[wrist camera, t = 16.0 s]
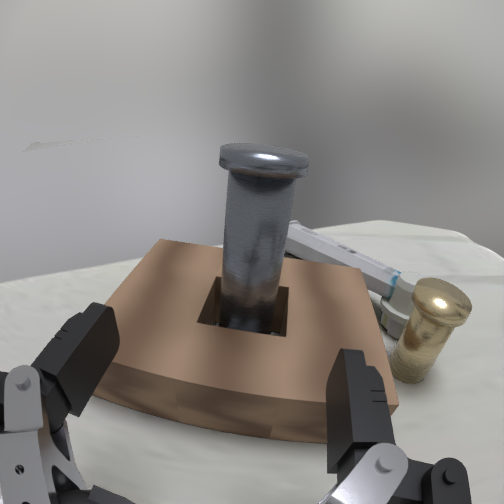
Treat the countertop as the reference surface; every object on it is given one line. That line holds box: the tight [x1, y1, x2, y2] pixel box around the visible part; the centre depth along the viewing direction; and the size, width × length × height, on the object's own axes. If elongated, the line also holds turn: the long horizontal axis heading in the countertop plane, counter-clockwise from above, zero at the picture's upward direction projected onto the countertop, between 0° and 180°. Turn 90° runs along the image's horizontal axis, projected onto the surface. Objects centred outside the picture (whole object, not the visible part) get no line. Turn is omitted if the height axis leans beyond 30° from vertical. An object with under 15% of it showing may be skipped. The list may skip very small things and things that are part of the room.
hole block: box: [92, 239, 399, 443], centre depth 24 cm, size 20×16×5 cm
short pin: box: [388, 278, 472, 384], centre depth 22 cm, size 5×5×8 cm
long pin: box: [219, 143, 310, 335], centre depth 21 cm, size 5×5×16 cm
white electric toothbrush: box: [284, 220, 427, 339], centre depth 35 cm, size 5×7×25 cm
